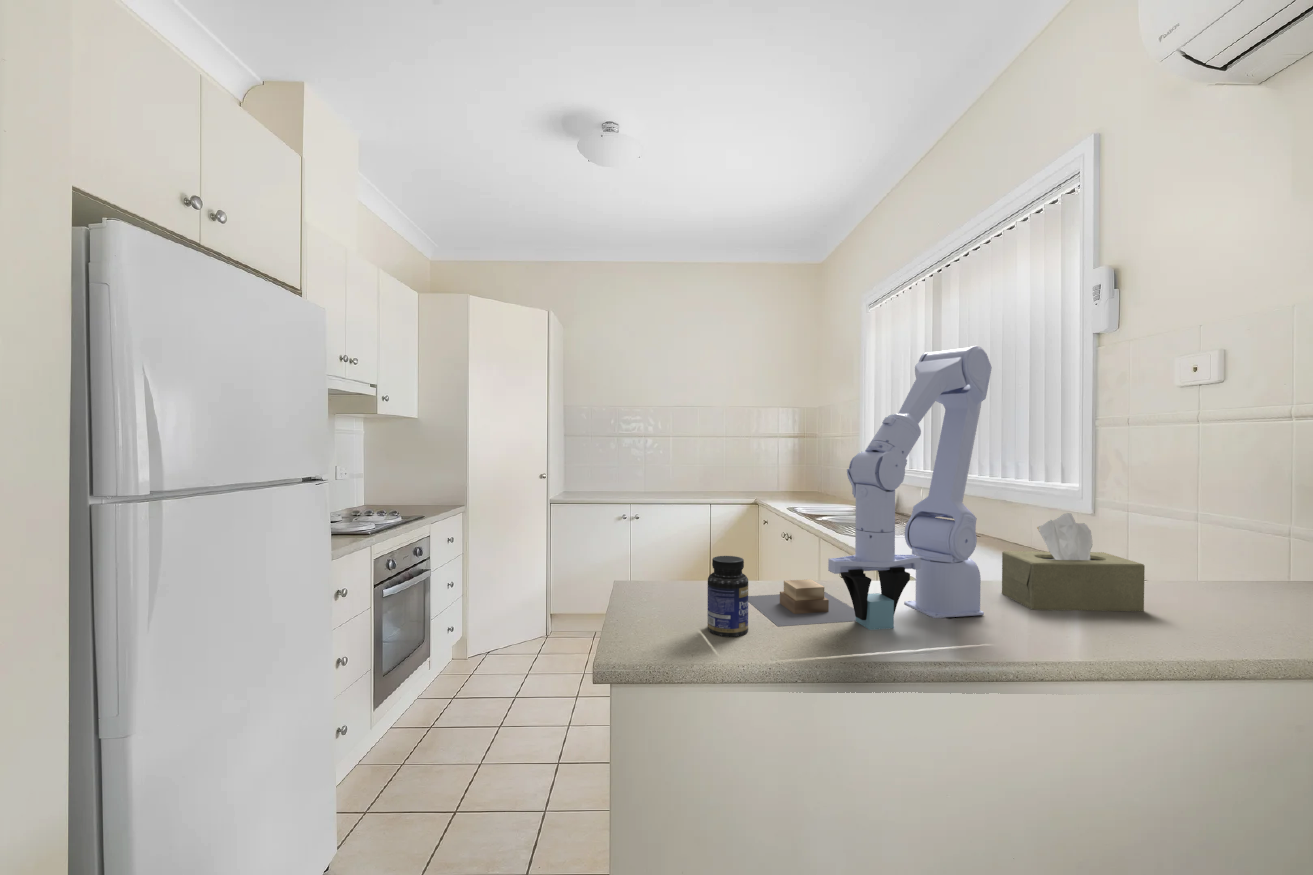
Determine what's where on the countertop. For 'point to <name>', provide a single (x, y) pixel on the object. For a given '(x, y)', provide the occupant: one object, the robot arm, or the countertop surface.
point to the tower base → (804, 604)
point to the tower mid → (803, 589)
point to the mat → (785, 617)
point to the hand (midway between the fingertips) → (874, 617)
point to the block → (878, 612)
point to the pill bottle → (728, 597)
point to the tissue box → (1072, 573)
